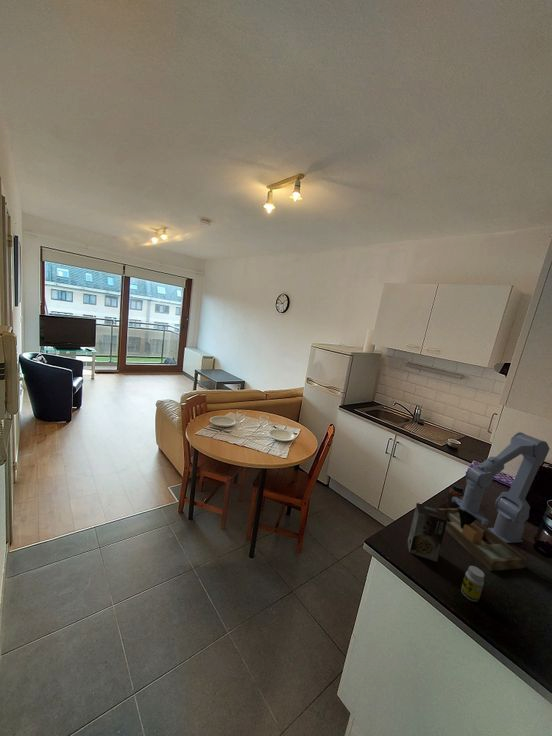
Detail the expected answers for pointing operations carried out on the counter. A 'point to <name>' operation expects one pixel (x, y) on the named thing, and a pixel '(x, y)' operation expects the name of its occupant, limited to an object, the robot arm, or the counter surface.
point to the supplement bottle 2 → (473, 583)
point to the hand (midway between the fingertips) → (463, 528)
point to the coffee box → (427, 532)
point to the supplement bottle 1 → (454, 492)
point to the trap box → (484, 545)
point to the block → (472, 533)
